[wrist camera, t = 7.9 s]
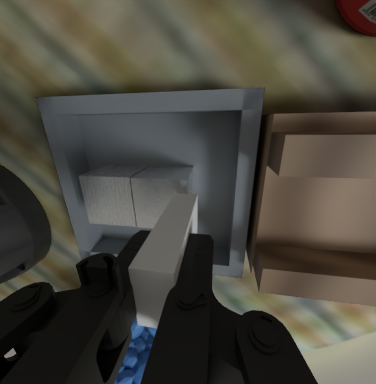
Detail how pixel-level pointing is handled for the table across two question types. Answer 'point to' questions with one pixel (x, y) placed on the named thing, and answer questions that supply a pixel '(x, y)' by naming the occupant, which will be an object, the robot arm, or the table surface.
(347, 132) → the slot block
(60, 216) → the table surface
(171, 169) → the grey cube
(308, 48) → the table surface
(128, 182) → the grey stone cube
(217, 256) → the tray
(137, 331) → the grapes
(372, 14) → the canned food
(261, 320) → the robot arm
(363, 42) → the table surface
